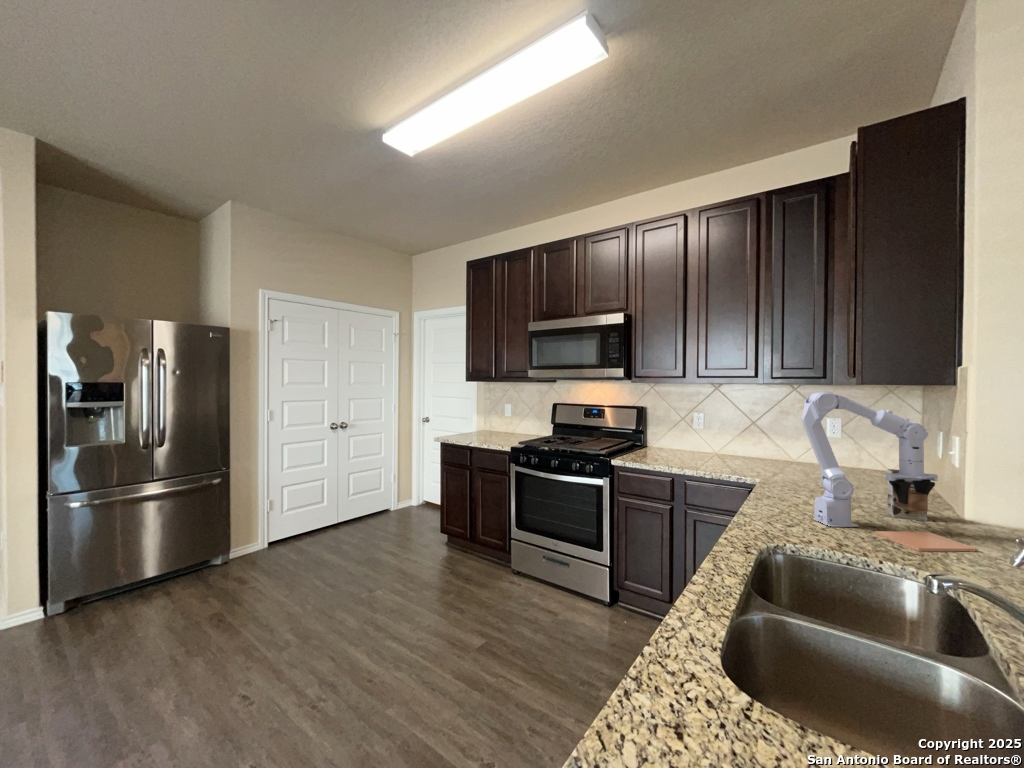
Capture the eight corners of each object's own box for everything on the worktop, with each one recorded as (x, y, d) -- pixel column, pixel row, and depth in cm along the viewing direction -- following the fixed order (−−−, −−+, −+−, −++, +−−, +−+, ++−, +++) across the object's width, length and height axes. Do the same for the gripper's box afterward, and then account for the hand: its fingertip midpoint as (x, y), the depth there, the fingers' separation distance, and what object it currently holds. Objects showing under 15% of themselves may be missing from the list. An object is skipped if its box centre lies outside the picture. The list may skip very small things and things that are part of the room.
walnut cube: (911, 510, 129) (911, 494, 129) (896, 506, 134) (896, 490, 134) (927, 511, 129) (927, 494, 129) (912, 506, 134) (912, 491, 134)
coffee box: (893, 517, 145) (892, 471, 146) (887, 513, 151) (886, 468, 151) (928, 521, 141) (927, 473, 141) (920, 516, 147) (920, 470, 147)
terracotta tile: (918, 551, 114) (918, 548, 115) (875, 533, 128) (875, 531, 129) (978, 551, 114) (978, 548, 114) (928, 534, 128) (928, 531, 128)
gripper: (899, 462, 128) (900, 506, 128) (947, 462, 128) (948, 507, 128) (879, 458, 135) (880, 500, 135) (924, 458, 135) (925, 501, 135)
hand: (911, 503), depth 132 cm, fingers closed on walnut cube, 5 cm apart
